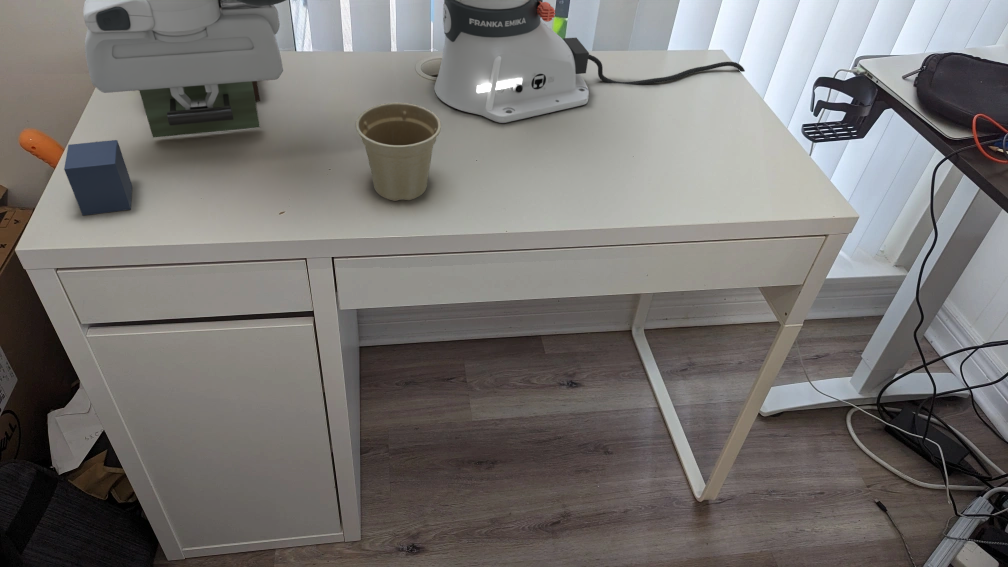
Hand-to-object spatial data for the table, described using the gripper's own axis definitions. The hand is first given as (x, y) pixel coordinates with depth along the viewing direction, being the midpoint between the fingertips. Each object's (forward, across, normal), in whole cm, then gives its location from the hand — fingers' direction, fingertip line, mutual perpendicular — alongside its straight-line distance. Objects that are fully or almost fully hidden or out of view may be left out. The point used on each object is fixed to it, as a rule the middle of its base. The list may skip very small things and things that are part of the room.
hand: (201, 116), depth 86 cm
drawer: (+4, 0, -7) cm, 8 cm away
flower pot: (+5, -21, +13) cm, 25 cm away
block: (+5, +11, +8) cm, 14 cm away
